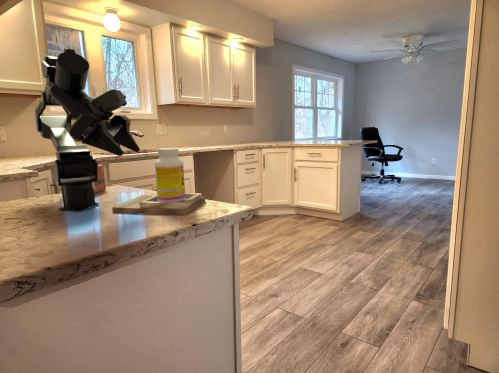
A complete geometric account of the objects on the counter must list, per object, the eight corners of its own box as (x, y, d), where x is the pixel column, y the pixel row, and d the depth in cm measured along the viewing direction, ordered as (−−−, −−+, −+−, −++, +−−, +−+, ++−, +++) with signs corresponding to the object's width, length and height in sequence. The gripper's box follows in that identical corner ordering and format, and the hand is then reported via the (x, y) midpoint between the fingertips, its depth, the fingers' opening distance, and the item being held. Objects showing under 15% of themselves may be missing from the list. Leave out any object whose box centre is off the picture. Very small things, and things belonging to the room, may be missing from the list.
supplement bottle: (187, 203, 75) (184, 148, 73) (158, 206, 73) (154, 150, 71) (183, 197, 81) (180, 147, 79) (156, 199, 79) (152, 148, 77)
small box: (75, 169, 89) (103, 164, 99) (60, 169, 91) (89, 164, 100) (79, 197, 90) (106, 189, 100) (64, 196, 92) (92, 189, 102)
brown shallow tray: (112, 212, 74) (111, 202, 73) (142, 199, 86) (141, 190, 86) (184, 215, 70) (184, 205, 70) (205, 201, 82) (204, 192, 82)
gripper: (76, 69, 61) (138, 127, 62) (119, 82, 79) (166, 126, 81) (42, 112, 63) (103, 167, 64) (92, 115, 81) (138, 158, 83)
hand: (131, 152), depth 73 cm, fingers open, 9 cm apart
